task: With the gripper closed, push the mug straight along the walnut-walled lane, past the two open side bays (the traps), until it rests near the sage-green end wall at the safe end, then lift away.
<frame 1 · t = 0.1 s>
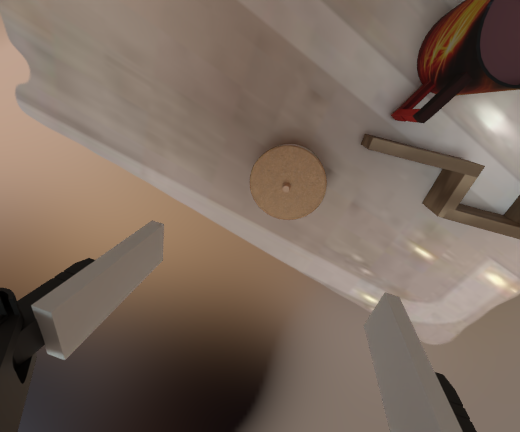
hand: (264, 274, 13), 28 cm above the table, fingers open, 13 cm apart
mug: (449, 71, 29), on the table
trap lane: (516, 86, 29), on the table
lidded jar: (291, 171, 39), on the table
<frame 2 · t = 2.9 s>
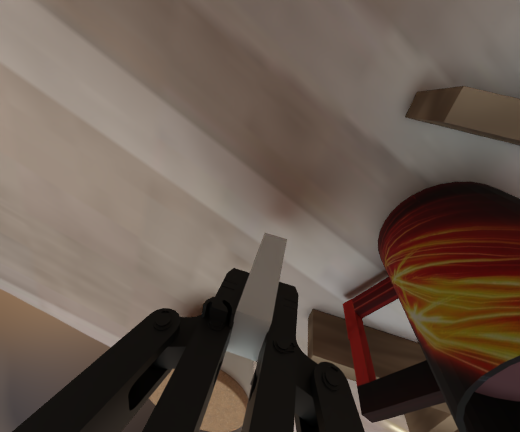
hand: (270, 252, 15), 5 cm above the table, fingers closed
mug: (427, 258, 19), on the table
lidded jar: (221, 330, 29), on the table
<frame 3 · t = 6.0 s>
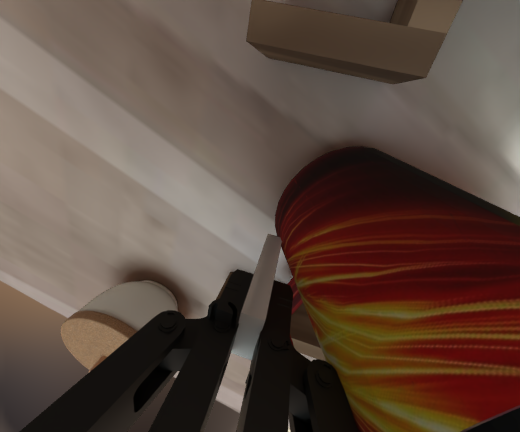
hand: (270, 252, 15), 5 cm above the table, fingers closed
mug: (331, 235, 18), point 2 cm above the table, touching gripper, hand
trap lane: (426, 241, 18), on the table
lidded jar: (157, 297, 29), on the table
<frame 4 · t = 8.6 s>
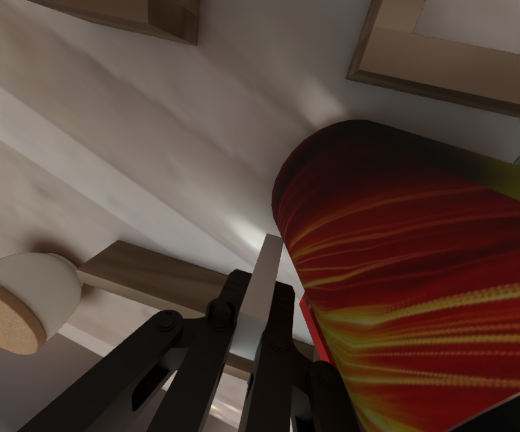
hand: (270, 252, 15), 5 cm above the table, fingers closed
mug: (340, 217, 17), point 1 cm above the table, touching gripper, hand
trap lane: (266, 200, 19), on the table
lidded jar: (64, 270, 30), on the table
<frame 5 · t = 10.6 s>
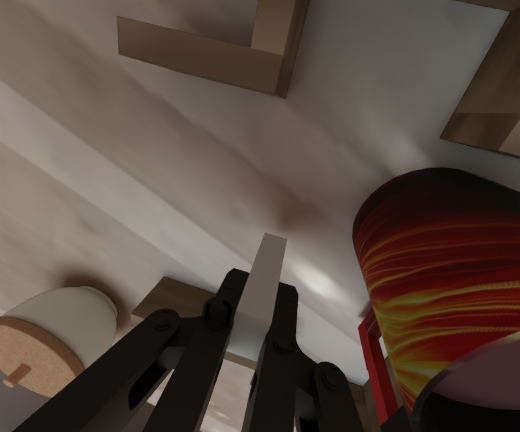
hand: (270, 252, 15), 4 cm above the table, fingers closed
mug: (418, 254, 18), on the table
trap lane: (335, 246, 19), on the table
lidded jar: (97, 303, 29), on the table
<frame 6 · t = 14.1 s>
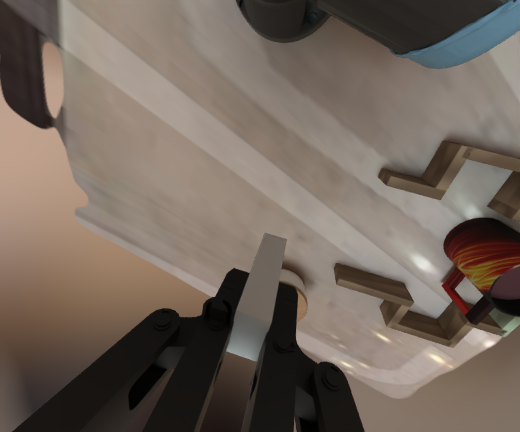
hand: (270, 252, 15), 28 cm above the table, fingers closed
mug: (472, 251, 41), on the table
trap lane: (435, 247, 42), on the table
lidded jar: (284, 279, 52), on the table
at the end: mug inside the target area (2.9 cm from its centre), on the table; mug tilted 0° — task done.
